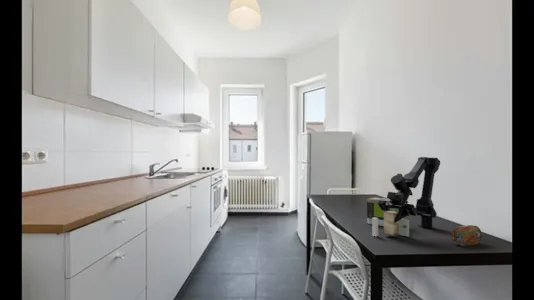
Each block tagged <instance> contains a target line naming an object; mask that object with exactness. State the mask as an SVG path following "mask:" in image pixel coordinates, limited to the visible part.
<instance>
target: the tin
mask: <svg viewBox="0 0 534 300" xmlns="http://www.w3.org/2000/svg"><path fill="white" fill-rule="evenodd" d="M451 240H452V242H453V243H454V244H455V245H457V246H462V247H467V246H474V245H478V244H479V243H480V242H481V240H482V230H481V228H480V227H479V226H477V225H472V224H470V225H469V224H468V225H459V226H455V227H454V228H453V229H452V230H451Z"/></svg>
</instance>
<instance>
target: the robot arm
mask: <svg viewBox="0 0 534 300" xmlns="http://www.w3.org/2000/svg"><path fill="white" fill-rule="evenodd" d="M440 166H441V160H440V159H439V158H438V157H427V156H420V157H418V158H417V161H416V163H415V164H414V166H413V167H412V169H411V170H410V171H409V172H408V173H405V174H404V175H403V174H402V173H397V174H396V175H394V176H392V177H391V178H390V182H391V184H392V187H394V189H395V190H396V191H397V192H393V191H388V192H387V195H386V199H390V202H391V203H392V204H389V203H387V201H385V200H379V201H378V203H377V204H378V205H379V207H380V208H381V210H384V211H391V210H390V209H391V208H393V209H398V210H399V212H398V214H397V216H396V218H395V220H394V222H395V223H396V222H398V221H399V220H401V219H405V218H407V217H409V216H414V217H416V216H420V224H418V225H417V226H418V227H420V228H422V229H436V227H435V226H433V218H434V219H435V218H436V217H437V214H438V213H437V211H436V209H435V208H434V206H435V205H434V202H433V200H432V195H433V187H434V180H435V174H436V173H437V172H438V171H439V169H440ZM423 172H424V174H423V175H424V177H423V184H422V188H421V189H422V190H421V196H420V198H417V199H416V203H415V205H414V204H411V203H409V201H408V200H409V198H410V196H413V192H412V191H413V190H412V189H416V188H417V186H418V185H419V183H420V181H419V178H420V176H421V175H422V173H423Z"/></svg>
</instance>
